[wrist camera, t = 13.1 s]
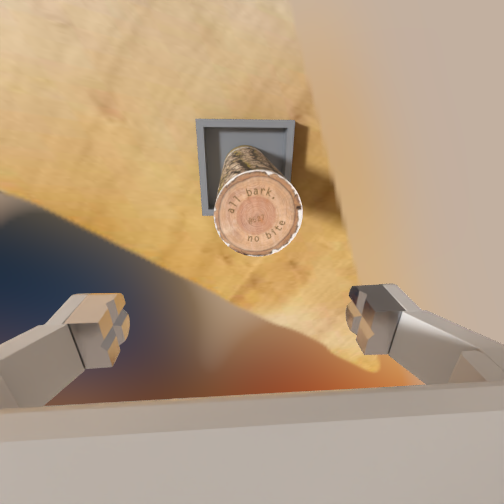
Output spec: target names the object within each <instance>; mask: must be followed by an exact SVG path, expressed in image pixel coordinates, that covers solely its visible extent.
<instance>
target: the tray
mask: <svg viewBox="0 0 504 504" xmlns="http://www.w3.org/2000/svg"><path fill="white" fill-rule="evenodd" d="M294 129H295V120H245V119H196V132H197V146H198V160H199V174H200V188H201V202H202V216H214V206H215V201H216V196H217V192H218V187H219V183H220V178H221V174H222V169H223V165H224V161H225V158H226V156H227V155H228V153H229V152H230V151H231V150H232V149H234V148H235V147H238V146H241V145H249V146H252V147H255V148H256V149H258V150H259V151H260V152H261V153H262V154H263V155H264V156H265V157H266V158H267V159H268V160H269V161H270V162H271V163H272V164H273V165H274V166H275V167H276V168H277V169H278V170H279V171H280V172H281V173H282V174H283V175H284V177H285V178H286V179H287V180H288V181H289V182H290V183H291V170H292V157H293V143H294Z"/></svg>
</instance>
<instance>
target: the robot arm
mask: <svg viewBox="0 0 504 504" xmlns="http://www.w3.org/2000/svg"><path fill="white" fill-rule="evenodd" d="M349 297H350V298H351V300H352V301H351V302H350V303H349V304H348V305H347V308H346V321H347V324H348V327H349V329H350V330H351V331H352V332H353V333H355V334H356V335H357V338H356V341H357V343H358V345H359V346H360V348H361V350H362V352H363V353H364V355H376V354H389V356H390V357H392V358H393V359H394V360H395V361H397V362H398V363H399V364H401V365H402V366H403V367H404V368H406V369H407V370H409V371H410V372H411V373H412V374H413V375H415V376H416V377H418V378H419V379H420V380H421V381H423V382H424V383H425V384H426V385H415V386H414V385H413V386H397V387H381V388H362V389H343V390H325V391H305V392H287V393H269V394H252V395H234V396H217V397H199V398H182V399H166V400H165V399H164V400H147V401H128V402H111V403H93V404H77V405H76V404H75V405H58V406H44V405H45V404H46V403H47V402H48V401H50V400H51V399H52V398H53V397H54V396H55V395H57V394H58V393H59V392H60V391H61V390H62V389H64V388H65V387H66V386H67V385H68V384H69V383H71V382H72V381H73V380H74V379H75V378H76V377H78V376H79V375H80V374H81V373H82V372H83V371H85V369H91V368H103V367H112V366H113V365H114V362H115V360H116V358H117V356H118V354H119V352H120V348H119V345H120V344H121V343H123V342H124V341H125V340H126V338H127V335H128V333H129V327H130V322H129V315H128V313H127V312H126V311H124V310H123V309H122V308H123V307H124V305H125V300H124V297H123V295H122V294H121V293H93V294H92V293H91V294H89V293H87V294H74V295H72V296H71V297H70V298H69V299H68V300H67V301H66V302H65V304H63V305H62V307H61V308H60V309H59V310H58V311H57V312H56V313H55V314H54V315H53V316H52V317H51V318H50V319H49V321H48V322H47V323H46V324H45V325H39V326H37V327H35V328H33V329H31V330H29V331H27V332H25V333H23V334H21V335H19V336H17V337H15V338H13V339H11V340H9V341H7V342H5V343H3V344H1V345H0V504H504V345H503V344H501V343H499V342H496V341H494V340H492V339H490V338H487V337H485V336H483V335H481V334H478V333H476V332H474V331H472V330H470V329H467V328H465V327H463V326H461V325H458V324H456V323H454V322H451V321H449V320H447V319H445V318H443V317H440V316H438V315H436V314H434V313H431V312H429V311H426V310H421V309H420V308H419V307H418V306H417V305H416V304H415V303H414V302H413V301H412V300H411V299H410V298H409V297H408V296H407V295H406V294H405V293H404V292H403V291H402V290H401V289H400V288H399V287H398V286H397V285H395V284H379V285H362V286H352V287H351V289H350V293H349Z"/></svg>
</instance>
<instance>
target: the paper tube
mask: <svg viewBox="0 0 504 504" xmlns="http://www.w3.org/2000/svg"><path fill="white" fill-rule="evenodd" d="M302 215H303V210H302V203H301V200H300V197H299V195H298V193H297V191H296V189H295V188H294V186H293V185H292V184H291V183H290V182H289V181H288V180H287V179H286V178H285V177H284V175H283V174H282V173H281V172H280V171H279V170H278V169H277V168H276V167H275V166H274V165H273V164H272V163H271V162H270V161H269V160H268V159H267V158H266V157H265V156H264V155H263V154H262V153H261V152H260V151H259V150H258V149H256V148H255V147H252V146H249V145H241V146H238V147H235V148H234V149H232V150H231V151H230V152H229V153H228V155H227V156H226V158H225V161H224V165H223V169H222V174H221V178H220V183H219V187H218V192H217V196H216V201H215V206H214V222H215V227H216V229H217V232H218V234H219V236H220V237H221V239H222V240H223V241H224V243H225V244H227V245H228V246H229V247H230V248H231V249H233V250H234V251H236V252H238V253H241V254H244V255H248V256H266V255H270V254H273V253H275V252H278V251H280V250H281V249H283V248H284V247H285V246H287V245H288V244H289V243H290V242H291V241H292V240H293V238H294V237H295V236H296V234H297V232H298V230H299V228H300V225H301V222H302Z"/></svg>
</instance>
